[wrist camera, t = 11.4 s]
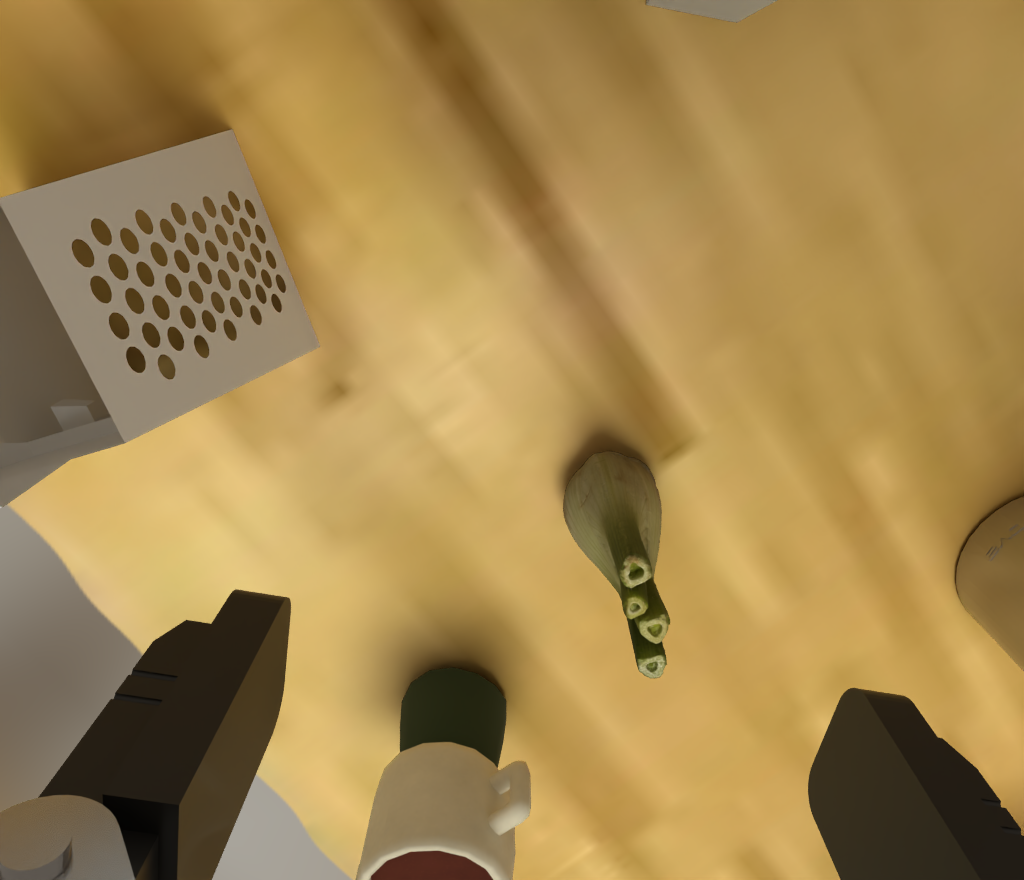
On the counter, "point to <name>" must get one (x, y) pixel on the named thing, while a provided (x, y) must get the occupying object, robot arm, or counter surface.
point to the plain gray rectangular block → (714, 7)
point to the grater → (127, 307)
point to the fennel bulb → (623, 543)
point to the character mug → (447, 787)
